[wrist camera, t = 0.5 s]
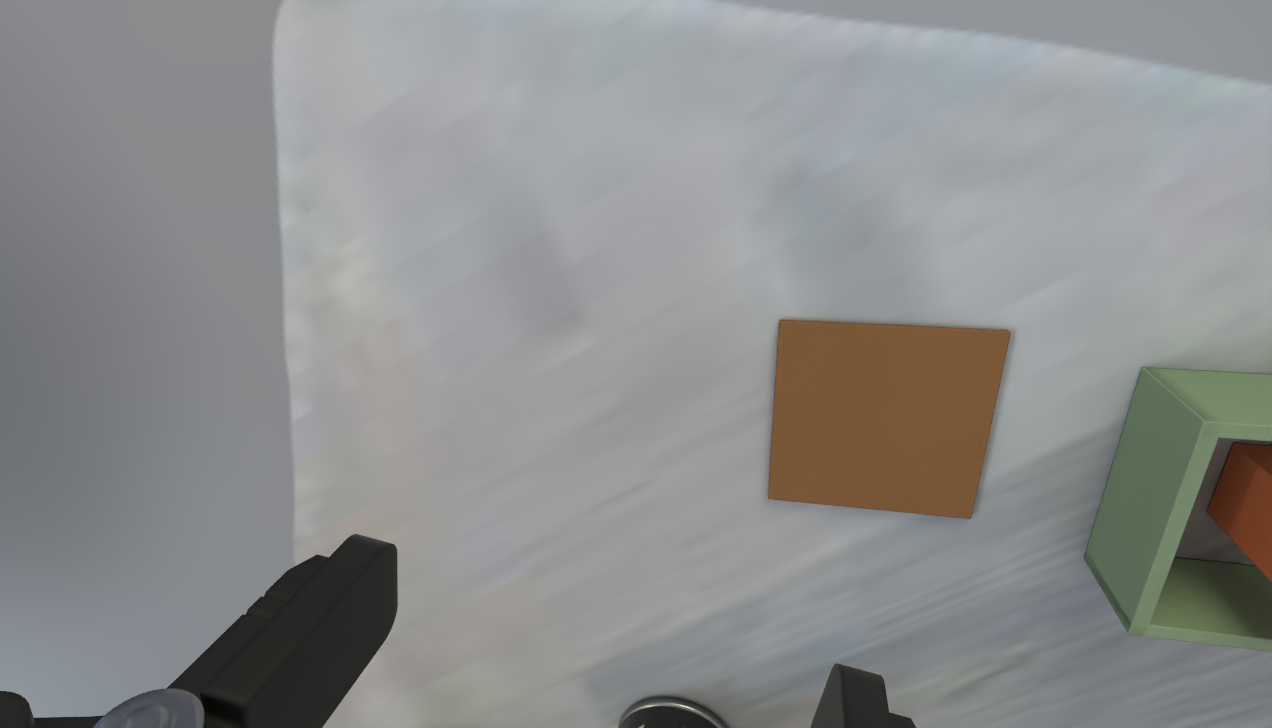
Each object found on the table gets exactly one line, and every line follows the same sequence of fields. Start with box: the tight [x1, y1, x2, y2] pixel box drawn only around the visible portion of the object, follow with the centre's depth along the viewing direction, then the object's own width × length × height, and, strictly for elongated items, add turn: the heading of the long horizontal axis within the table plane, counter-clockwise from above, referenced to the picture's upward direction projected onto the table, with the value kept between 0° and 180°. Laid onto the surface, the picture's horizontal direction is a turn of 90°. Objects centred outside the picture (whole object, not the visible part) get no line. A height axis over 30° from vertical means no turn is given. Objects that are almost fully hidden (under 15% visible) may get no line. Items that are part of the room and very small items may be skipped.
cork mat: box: [768, 320, 1010, 519], centre depth 39 cm, size 12×12×1 cm
